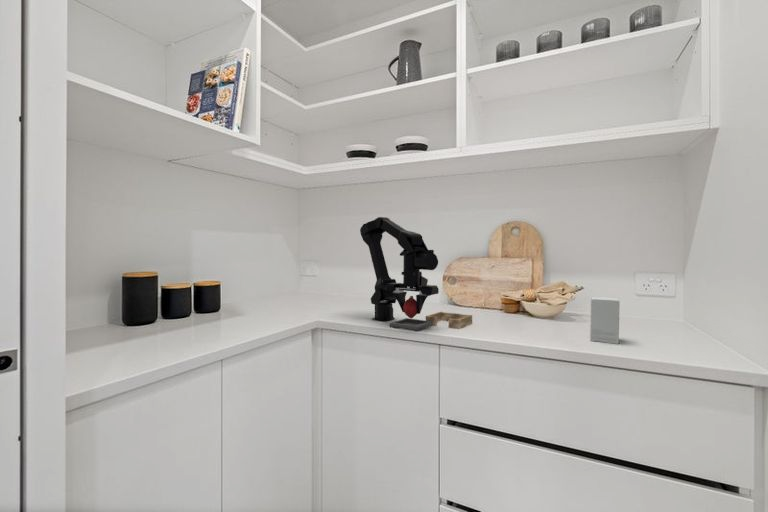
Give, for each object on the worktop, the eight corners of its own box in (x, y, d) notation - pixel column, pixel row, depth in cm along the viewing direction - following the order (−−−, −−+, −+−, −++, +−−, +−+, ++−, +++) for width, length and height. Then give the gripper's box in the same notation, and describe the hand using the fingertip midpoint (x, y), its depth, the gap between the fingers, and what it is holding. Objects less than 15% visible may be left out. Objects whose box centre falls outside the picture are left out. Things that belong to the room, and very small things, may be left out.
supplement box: (619, 344, 105) (619, 300, 105) (589, 340, 109) (590, 298, 109) (618, 339, 111) (619, 297, 111) (590, 336, 115) (591, 296, 115)
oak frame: (425, 324, 132) (425, 316, 132) (440, 319, 142) (440, 311, 142) (459, 328, 125) (459, 320, 125) (472, 323, 135) (472, 315, 135)
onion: (418, 320, 125) (418, 297, 125) (401, 319, 127) (401, 296, 126) (420, 317, 131) (420, 295, 131) (404, 316, 132) (404, 294, 132)
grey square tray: (389, 327, 127) (389, 322, 127) (406, 322, 136) (406, 318, 136) (417, 331, 121) (417, 326, 121) (432, 325, 130) (432, 321, 130)
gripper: (445, 268, 130) (445, 312, 130) (401, 267, 141) (400, 307, 141) (431, 270, 121) (430, 317, 121) (384, 268, 131) (384, 311, 132)
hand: (411, 312), depth 129 cm, fingers closed on onion, 6 cm apart
